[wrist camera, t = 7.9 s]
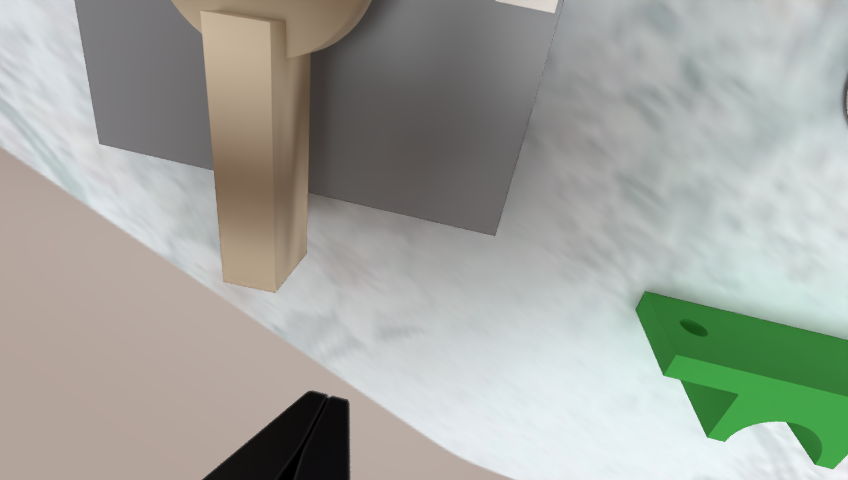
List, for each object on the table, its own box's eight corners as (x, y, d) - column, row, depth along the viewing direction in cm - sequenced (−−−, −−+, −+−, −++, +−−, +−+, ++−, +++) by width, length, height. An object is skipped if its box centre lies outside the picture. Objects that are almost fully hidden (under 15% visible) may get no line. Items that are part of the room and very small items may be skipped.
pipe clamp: (613, 347, 23) (635, 419, 19) (643, 288, 21) (675, 354, 17) (837, 404, 23) (908, 491, 19) (888, 347, 21) (979, 430, 17)
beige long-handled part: (170, -211, 13) (84, -265, 10) (393, -180, 12) (363, -230, 10) (212, 233, 20) (167, 269, 17) (357, 263, 19) (333, 305, 16)
